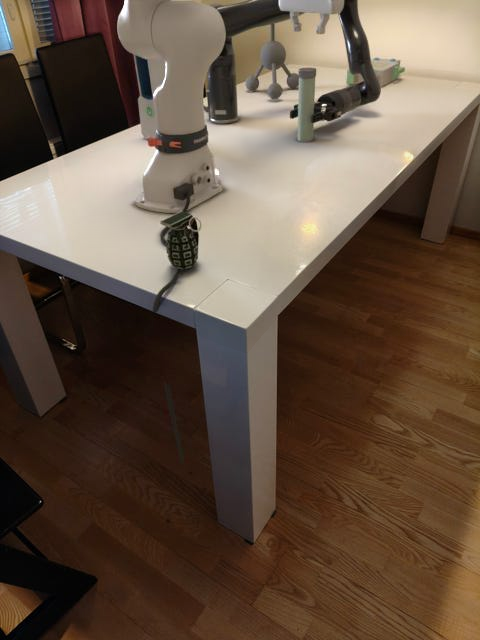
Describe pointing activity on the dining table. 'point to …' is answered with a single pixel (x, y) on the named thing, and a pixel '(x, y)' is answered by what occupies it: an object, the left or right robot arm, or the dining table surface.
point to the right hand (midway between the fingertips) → (301, 117)
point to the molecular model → (273, 67)
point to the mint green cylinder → (306, 108)
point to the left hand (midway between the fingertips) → (308, 32)
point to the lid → (307, 72)
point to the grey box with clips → (380, 71)
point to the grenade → (182, 240)
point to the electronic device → (148, 92)
